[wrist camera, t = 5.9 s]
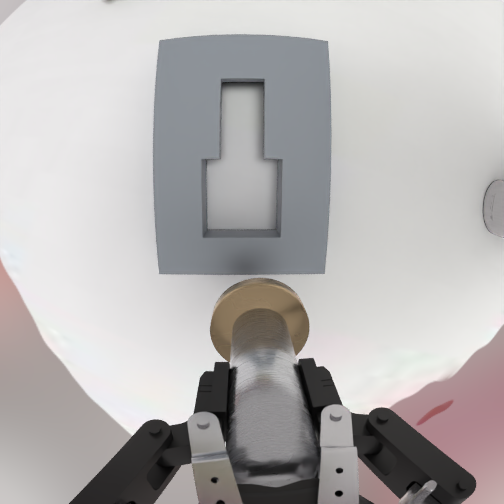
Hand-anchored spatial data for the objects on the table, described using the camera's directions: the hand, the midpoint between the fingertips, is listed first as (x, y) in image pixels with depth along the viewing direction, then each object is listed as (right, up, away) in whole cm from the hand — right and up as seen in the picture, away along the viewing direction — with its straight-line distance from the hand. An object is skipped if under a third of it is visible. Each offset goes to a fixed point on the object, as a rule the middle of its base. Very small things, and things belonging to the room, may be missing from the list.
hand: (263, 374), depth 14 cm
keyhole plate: (-2, +18, +17) cm, 24 cm away
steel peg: (0, +2, +6) cm, 6 cm away
